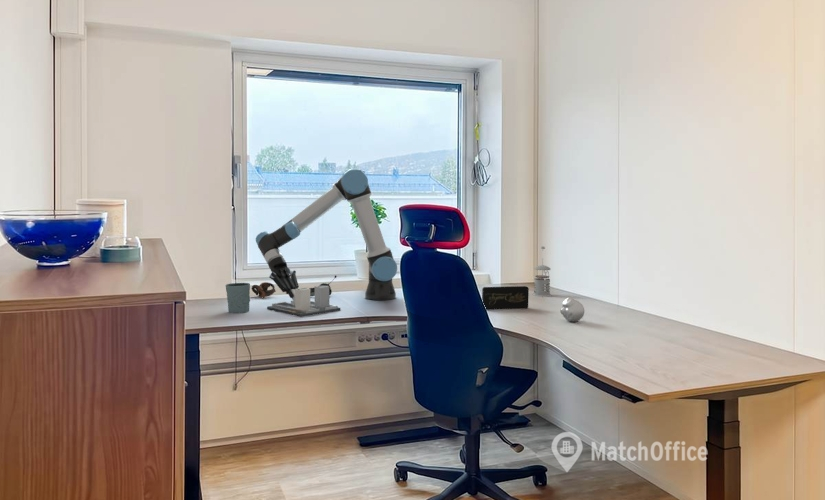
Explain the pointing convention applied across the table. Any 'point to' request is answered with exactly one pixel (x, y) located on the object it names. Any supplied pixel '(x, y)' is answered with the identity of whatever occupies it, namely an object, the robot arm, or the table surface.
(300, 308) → the white fader
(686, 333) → the table surface
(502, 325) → the table surface
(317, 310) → the grey board
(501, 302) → the nameplate
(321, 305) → the block
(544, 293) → the french press
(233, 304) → the green tapered cup
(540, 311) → the table surface
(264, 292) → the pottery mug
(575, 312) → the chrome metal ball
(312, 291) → the headset
